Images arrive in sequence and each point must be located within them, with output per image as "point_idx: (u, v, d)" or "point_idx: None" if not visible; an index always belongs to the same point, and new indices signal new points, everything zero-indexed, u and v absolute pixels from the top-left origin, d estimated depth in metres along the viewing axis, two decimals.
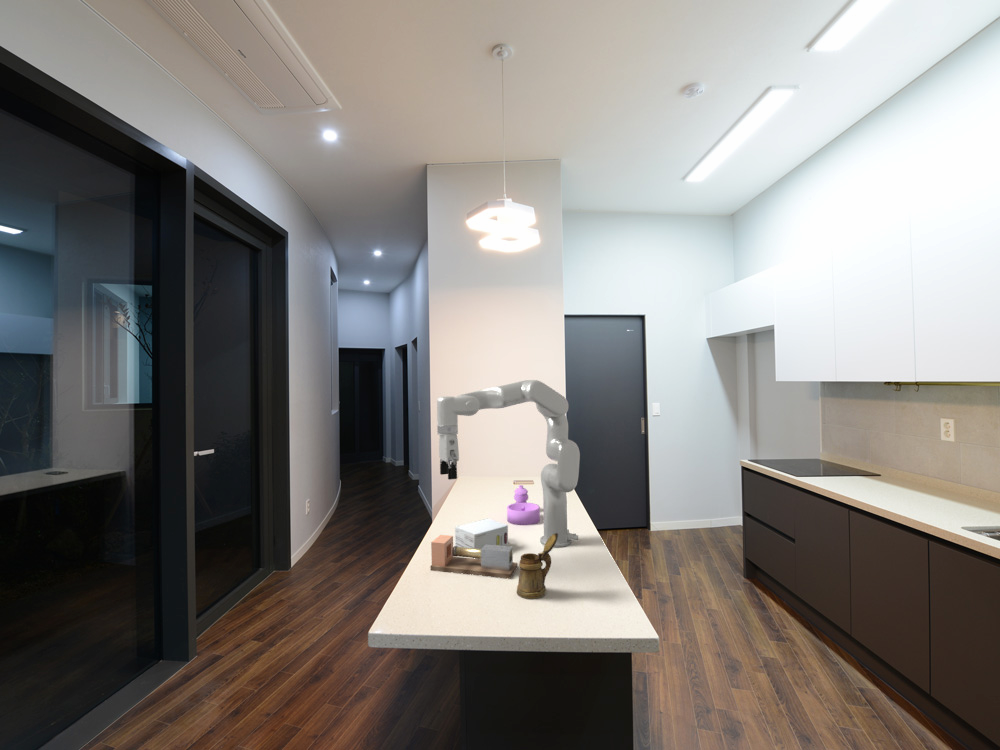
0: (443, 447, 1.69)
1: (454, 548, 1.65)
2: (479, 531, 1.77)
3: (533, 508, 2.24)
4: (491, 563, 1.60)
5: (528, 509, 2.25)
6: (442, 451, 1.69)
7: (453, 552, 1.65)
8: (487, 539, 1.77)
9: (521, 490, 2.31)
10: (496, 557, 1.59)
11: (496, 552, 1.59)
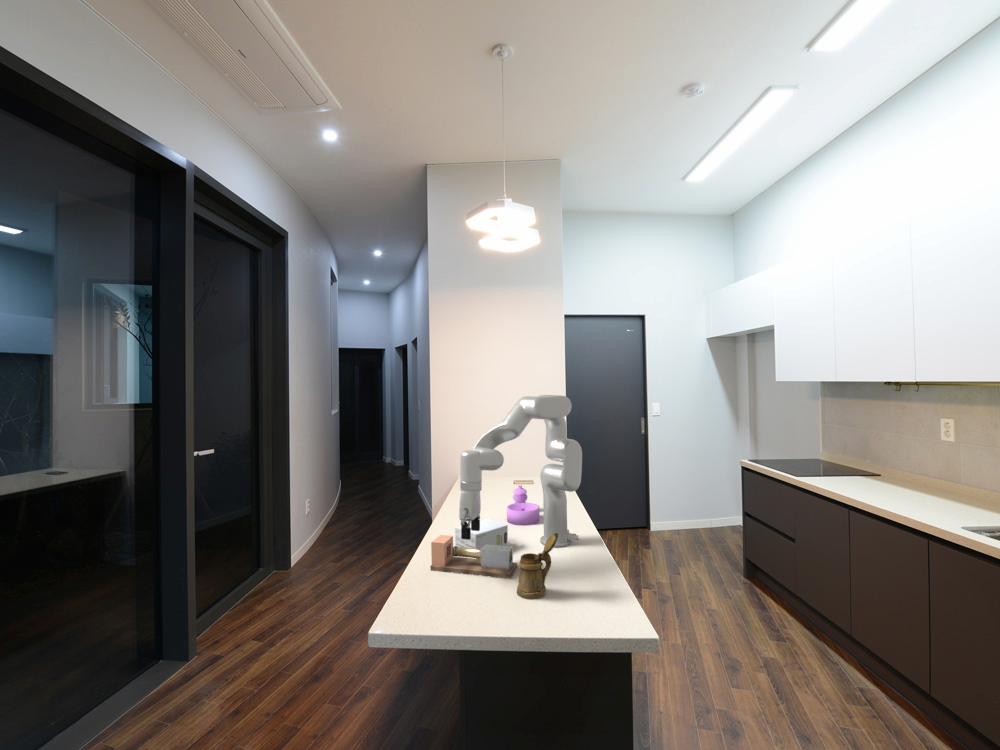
0: (479, 501, 1.66)
1: (454, 548, 1.65)
2: (480, 531, 1.77)
3: (532, 508, 2.24)
4: (491, 563, 1.60)
5: (527, 509, 2.25)
6: (478, 506, 1.65)
7: (453, 552, 1.65)
8: (488, 539, 1.77)
9: (520, 490, 2.30)
10: (496, 557, 1.59)
11: (496, 552, 1.59)
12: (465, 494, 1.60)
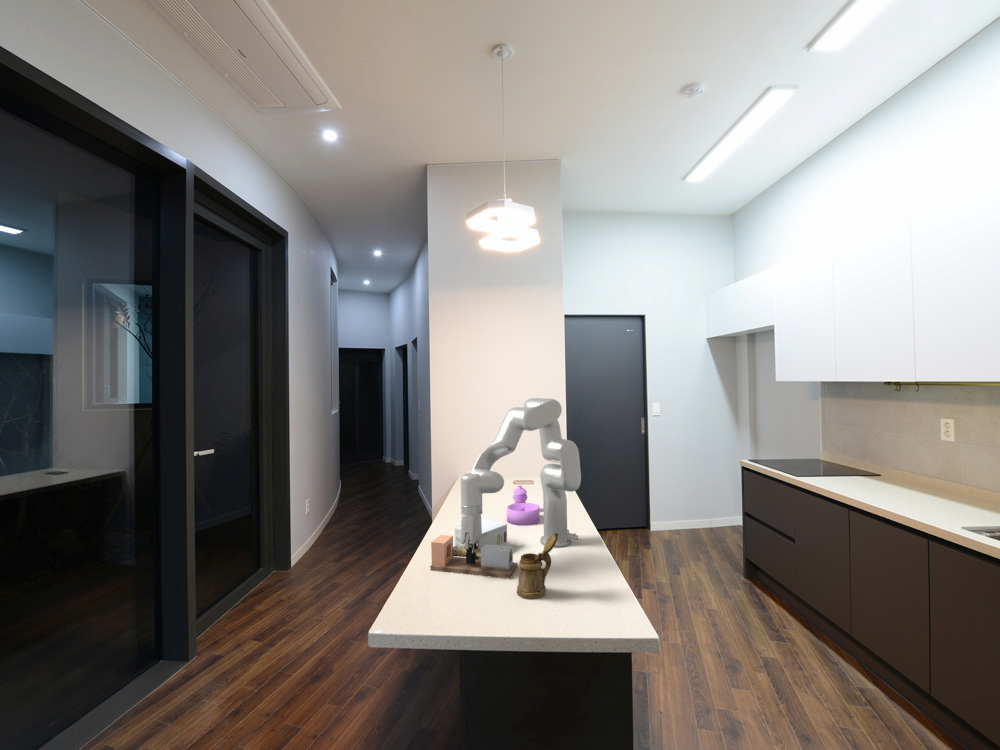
0: (480, 524, 1.66)
1: (454, 548, 1.65)
2: (482, 531, 1.77)
3: (532, 508, 2.23)
4: (491, 563, 1.60)
5: (527, 509, 2.25)
6: (479, 529, 1.65)
7: (453, 552, 1.65)
8: (489, 539, 1.78)
9: (520, 490, 2.30)
10: (496, 557, 1.59)
11: (496, 552, 1.59)
12: (466, 518, 1.60)
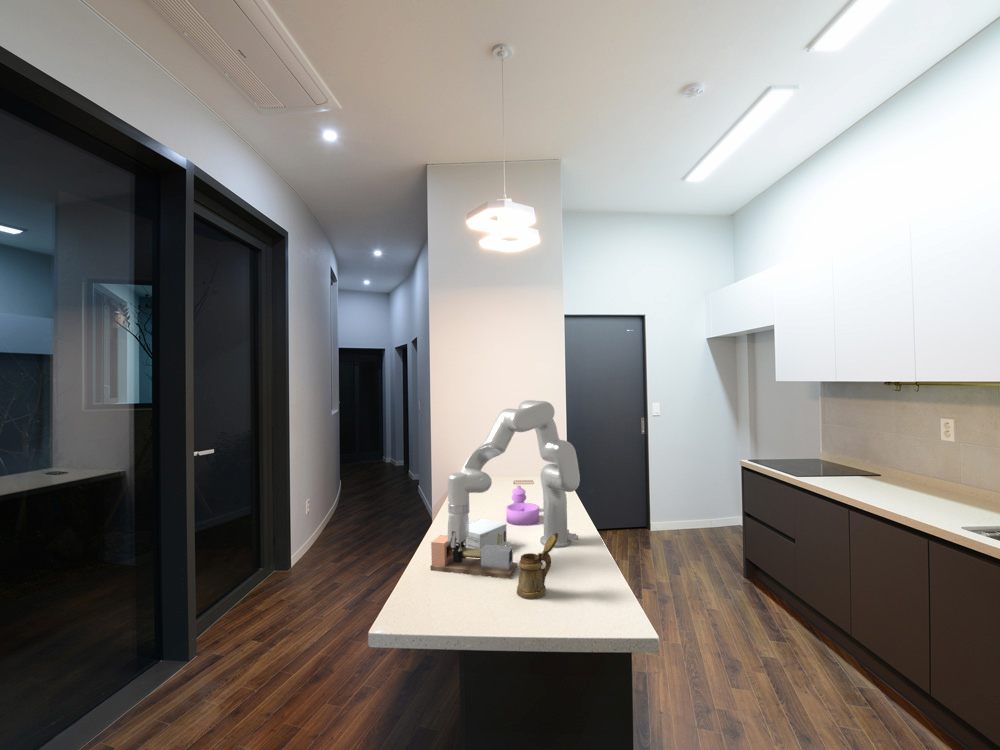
0: (467, 523, 1.68)
1: None
2: (483, 531, 1.77)
3: (532, 508, 2.23)
4: (491, 563, 1.60)
5: (527, 509, 2.25)
6: (467, 528, 1.67)
7: None
8: (490, 539, 1.78)
9: (519, 490, 2.30)
10: (496, 557, 1.59)
11: (496, 552, 1.59)
12: (453, 517, 1.62)
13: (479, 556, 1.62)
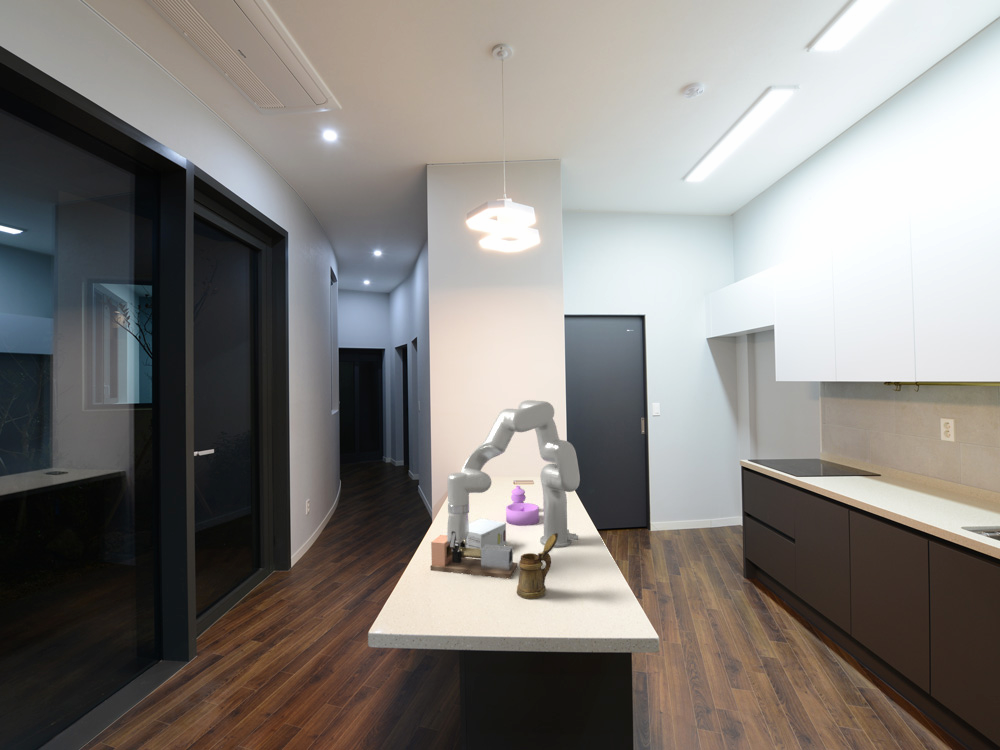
0: (467, 523, 1.68)
1: None
2: (484, 531, 1.77)
3: (531, 508, 2.23)
4: (491, 563, 1.60)
5: (526, 509, 2.25)
6: (466, 528, 1.67)
7: None
8: (491, 538, 1.78)
9: (518, 490, 2.30)
10: (496, 557, 1.59)
11: (496, 552, 1.59)
12: (453, 517, 1.62)
13: (479, 556, 1.62)
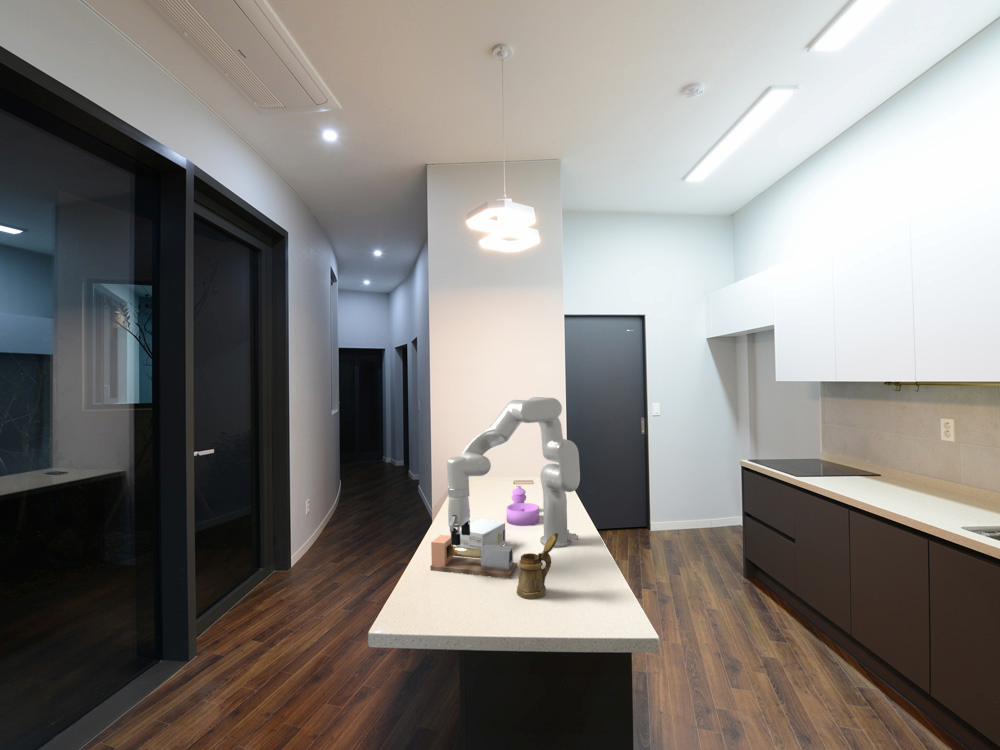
0: (468, 507, 1.68)
1: None
2: (484, 531, 1.77)
3: (532, 508, 2.23)
4: (491, 563, 1.60)
5: (527, 509, 2.25)
6: (467, 511, 1.67)
7: None
8: (492, 538, 1.79)
9: (519, 490, 2.30)
10: (496, 557, 1.59)
11: (496, 552, 1.59)
12: (453, 501, 1.62)
13: (479, 556, 1.62)
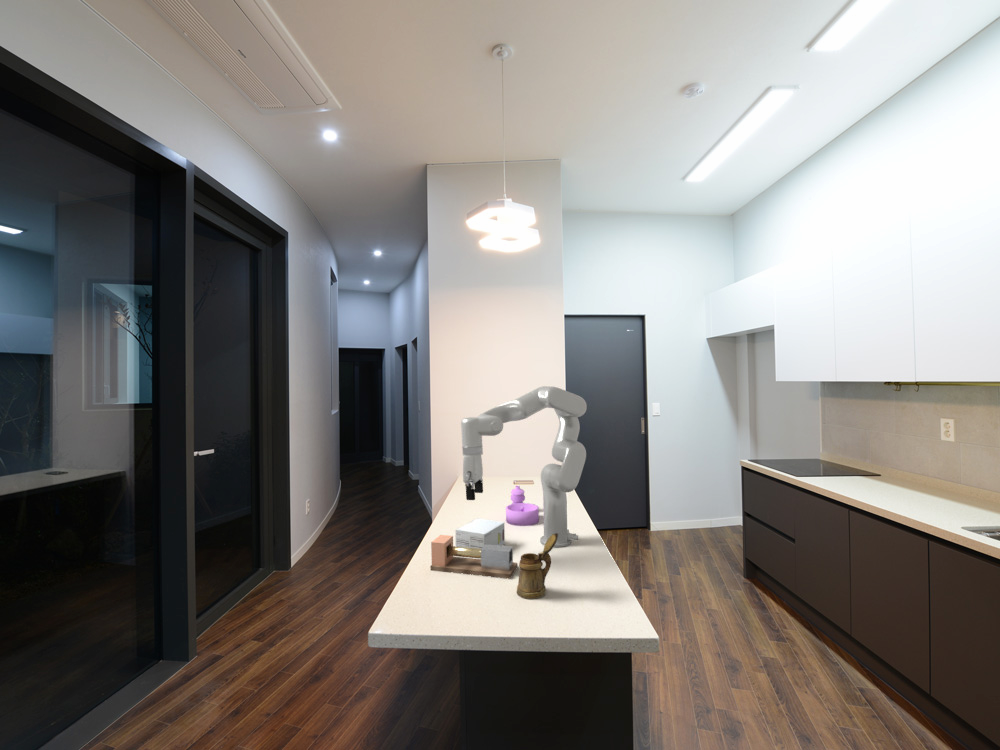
0: (481, 465, 1.76)
1: None
2: (485, 530, 1.77)
3: (531, 508, 2.23)
4: (491, 563, 1.60)
5: (526, 509, 2.25)
6: (480, 469, 1.75)
7: None
8: (492, 538, 1.79)
9: (518, 491, 2.30)
10: (496, 557, 1.59)
11: (496, 552, 1.59)
12: (468, 458, 1.70)
13: (479, 556, 1.62)
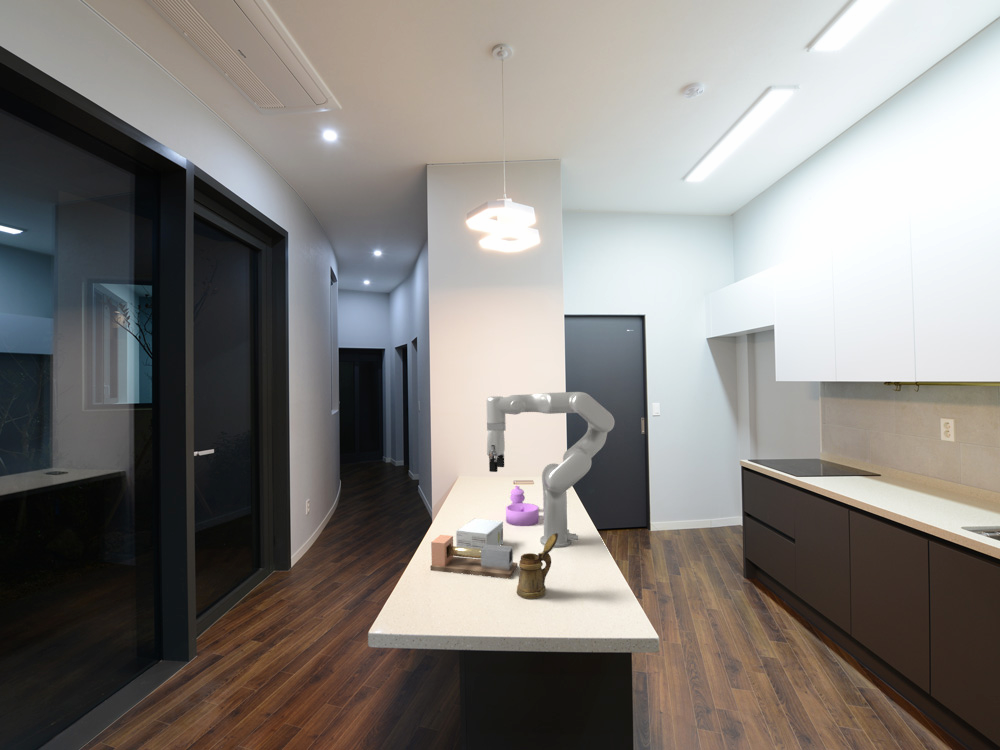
0: (503, 440, 1.90)
1: None
2: (487, 530, 1.77)
3: (531, 508, 2.23)
4: (491, 563, 1.60)
5: (526, 510, 2.25)
6: (503, 444, 1.89)
7: None
8: (493, 537, 1.79)
9: (518, 491, 2.29)
10: (496, 557, 1.59)
11: (496, 552, 1.59)
12: (492, 433, 1.84)
13: (479, 556, 1.62)
